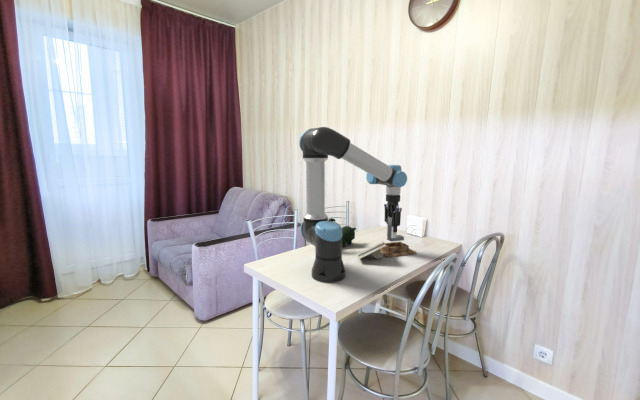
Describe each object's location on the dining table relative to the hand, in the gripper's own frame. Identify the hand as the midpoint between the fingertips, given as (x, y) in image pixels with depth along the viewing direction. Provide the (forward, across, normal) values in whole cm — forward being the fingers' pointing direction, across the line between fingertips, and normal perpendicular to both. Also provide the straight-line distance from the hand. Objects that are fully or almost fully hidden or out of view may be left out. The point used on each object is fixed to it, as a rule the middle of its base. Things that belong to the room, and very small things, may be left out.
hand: (391, 236), depth 162 cm
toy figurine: (+9, +19, +22) cm, 30 cm away
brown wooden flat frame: (+9, 0, -2) cm, 9 cm away
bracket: (+2, 0, -3) cm, 3 cm away
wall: (+9, -5, +15) cm, 19 cm away
